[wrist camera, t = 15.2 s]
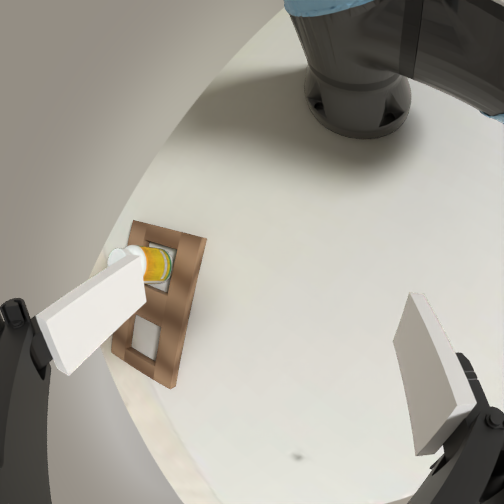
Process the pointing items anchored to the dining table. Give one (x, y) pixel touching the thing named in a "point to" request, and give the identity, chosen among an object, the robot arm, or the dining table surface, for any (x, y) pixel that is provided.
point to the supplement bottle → (147, 262)
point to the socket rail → (163, 304)
